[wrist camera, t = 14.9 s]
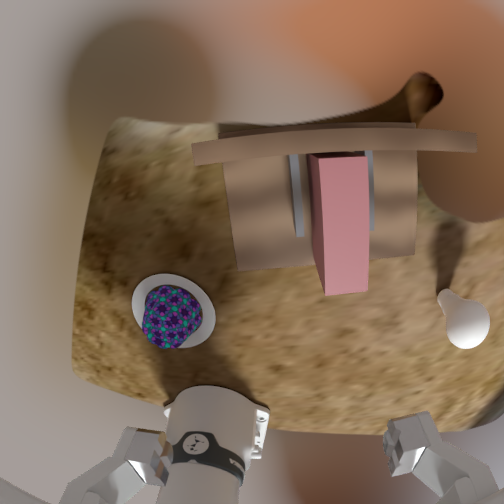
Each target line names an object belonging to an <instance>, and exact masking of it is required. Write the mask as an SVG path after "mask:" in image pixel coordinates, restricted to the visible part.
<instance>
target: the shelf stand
mask: <svg viewBox="0 0 504 504" xmlns="http://www.w3.org/2000/svg"><path fill="white" fill-rule="evenodd" d="M218 134H219V139H218V140H211V141H205V142H199V143H193V144H191V146H192V153H193V160H194V166H198V165H205V164H212V163H219V162H222V164H223V171H224V179H225V186H226V193H227V200H228V207H229V214H230V221H231V228H232V235H233V242H234V249H235V255H236V262H237V269H238V271H248V270H261V269H272V268H284V267H295V266H307V265H316V264H315V261H314V258H313V241H312V224H311V209H310V195H309V182H308V170H307V159H306V153H321V152H340V151H349V152H353V153H356V154H360V155H364V156H367V160H368V180H369V260H370V259H380V258H389V257H399V256H409V255H414V254H415V241H416V224H417V150H433V151H458V152H477V137H476V136H477V135H476V133H470V132H460V131H448V130H433V129H415V123H399V122H344V123H319V124H302V125H289V126H277V127H267V128H257V129H249V130H240V131H233V132H225V133H218Z"/></svg>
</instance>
